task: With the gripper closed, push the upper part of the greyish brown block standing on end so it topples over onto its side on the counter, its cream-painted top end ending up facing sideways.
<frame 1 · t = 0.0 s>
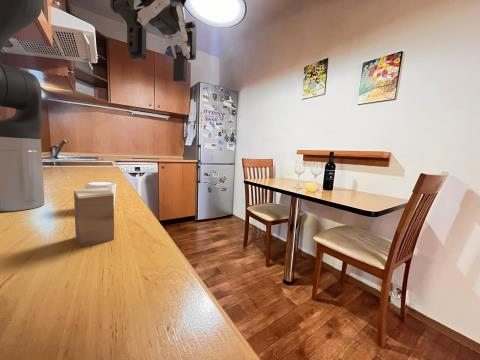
hand: (161, 72, 31), 29 cm above the counter, tool pointing down, fingers open, 8 cm apart
greyish brown block: (95, 238, 37), on the counter
shot glass: (101, 209, 54), on the counter
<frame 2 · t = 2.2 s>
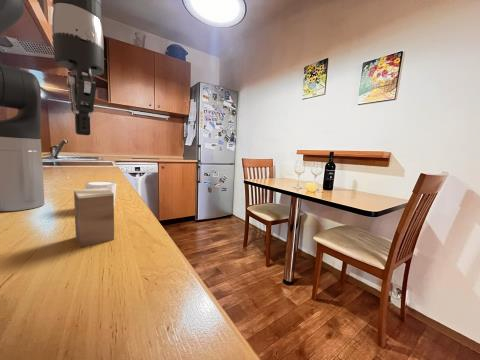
hand: (83, 134, 40), 19 cm above the counter, tool pointing down, fingers closed
nothing on the counter moved.
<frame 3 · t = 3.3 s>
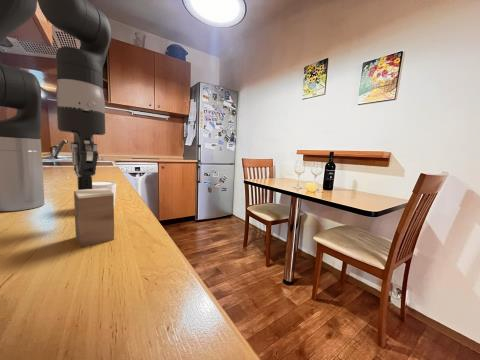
hand: (85, 194, 42), 7 cm above the counter, tool pointing down, fingers closed
nothing on the counter moved.
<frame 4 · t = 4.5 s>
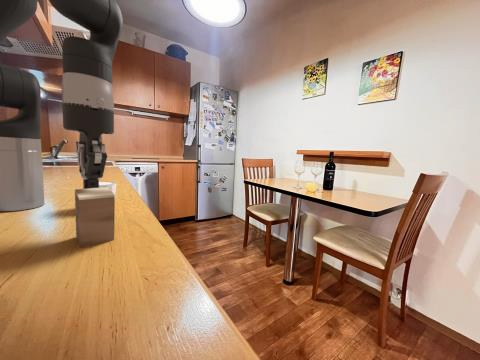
hand: (91, 197, 39), 7 cm above the counter, tool pointing down, fingers closed
greyish brown block: (95, 237, 37), on the counter, touching gripper
everything else where it was.
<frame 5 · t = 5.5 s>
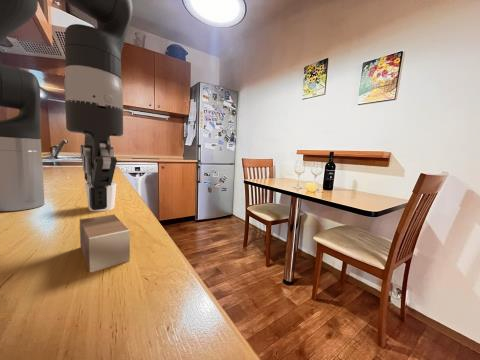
hand: (98, 208, 35), 7 cm above the counter, tool pointing down, fingers closed
greyish brown block: (98, 230, 35), point 2 cm above the counter, tilted 90°
everything else where it was.
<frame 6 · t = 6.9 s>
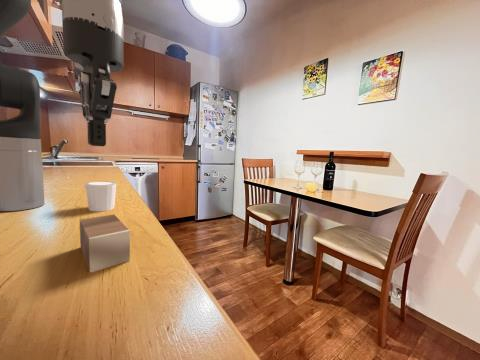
hand: (97, 145, 33), 17 cm above the counter, tool pointing down, fingers closed
nothing on the counter moved.
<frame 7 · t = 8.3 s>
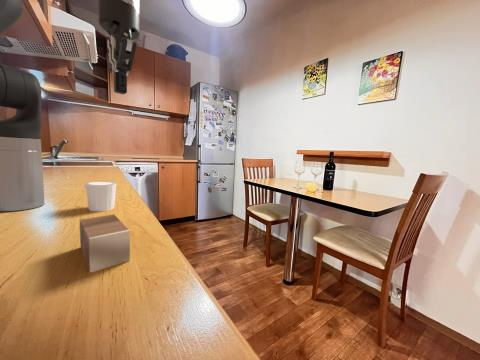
hand: (120, 93, 45), 29 cm above the counter, tool pointing down, fingers closed
nothing on the counter moved.
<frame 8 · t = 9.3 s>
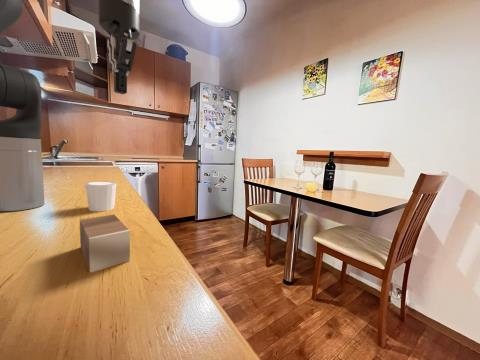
hand: (120, 93, 45), 29 cm above the counter, tool pointing down, fingers closed
nothing on the counter moved.
at the end: greyish brown block tilted 90°; greyish brown block inside the target area (0.7 cm from its centre), point 2.4 cm above the counter; greyish brown block touching counter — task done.
